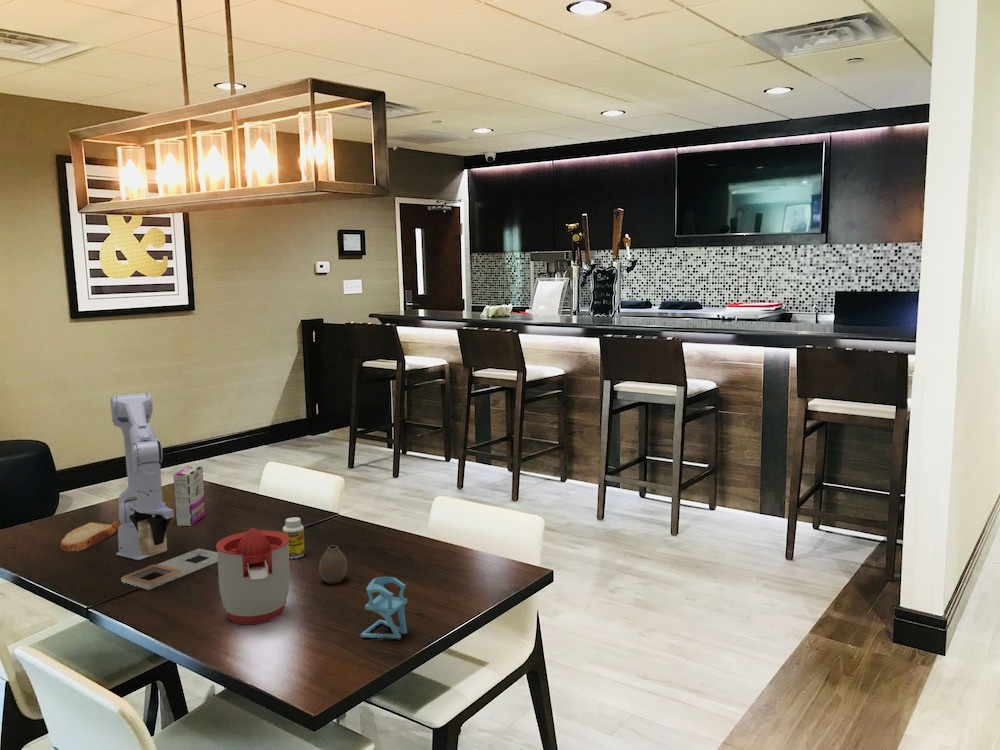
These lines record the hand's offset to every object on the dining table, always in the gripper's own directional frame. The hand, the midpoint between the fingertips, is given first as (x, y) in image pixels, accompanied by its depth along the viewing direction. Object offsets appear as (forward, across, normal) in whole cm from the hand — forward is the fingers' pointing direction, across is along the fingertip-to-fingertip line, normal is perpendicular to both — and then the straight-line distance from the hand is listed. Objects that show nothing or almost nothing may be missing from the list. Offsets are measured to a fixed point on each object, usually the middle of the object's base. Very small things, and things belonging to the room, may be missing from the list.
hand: (152, 542), depth 193 cm
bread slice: (+10, +42, -12) cm, 45 cm away
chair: (+10, -70, -2) cm, 71 cm away
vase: (+10, -41, -20) cm, 46 cm away
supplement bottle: (+10, -20, -29) cm, 36 cm away
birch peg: (+2, 0, 0) cm, 3 cm away
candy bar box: (+10, +30, -37) cm, 49 cm away
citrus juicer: (+10, -39, +4) cm, 40 cm away
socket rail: (+9, 0, -6) cm, 11 cm away
